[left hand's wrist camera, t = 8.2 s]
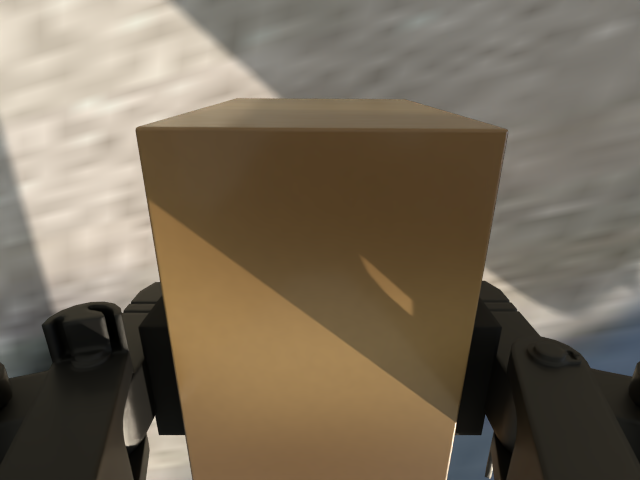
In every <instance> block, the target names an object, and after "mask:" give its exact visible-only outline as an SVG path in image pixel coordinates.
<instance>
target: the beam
mask: <svg viewBox="0 0 640 480" xmlns="http://www.w3.org/2000/svg"><path fill="white" fill-rule="evenodd" d="M136 136H137V142H138V148H139V154H140V160H141V167H142V173H143V179H144V185H145V191H146V197H147V203H148V210H149V216H150V222H151V228H152V234H153V240H154V246H155V252H156V259H157V265H158V271H159V277H160V283H161V289H162V295H163V302H164V308H165V314H166V320H167V326H168V332H169V338H170V345H171V351H172V357H173V363H174V369H175V375H176V381H177V387H178V394H179V400H180V406H181V412H182V418H183V424H184V430H185V437H186V443H187V449H188V455H189V461H190V467H191V473H192V479H193V480H447V474H448V469H449V463H450V458H451V452H452V446H453V441H454V435H455V429H456V424H457V418H458V412H459V407H460V401H461V396H462V390H463V384H464V379H465V373H466V367H467V362H468V356H469V350H470V345H471V339H472V334H473V328H474V322H475V317H476V311H477V305H478V300H479V294H480V289H481V283H482V277H483V272H484V266H485V260H486V255H487V249H488V243H489V238H490V232H491V227H492V221H493V215H494V210H495V204H496V198H497V193H498V187H499V181H500V176H501V170H502V165H503V159H504V153H505V148H506V142H507V136H508V130H507V129H504V128H501V127H498V126H494V125H491V124H487V123H484V122H481V121H477V120H474V119H470V118H467V117H464V116H460V115H457V114H453V113H450V112H447V111H443V110H440V109H436V108H433V107H429V106H426V105H423V104H419V103H416V102H412V101H409V100H406V99H270V98H236V99H233V100H229V101H226V102H222V103H219V104H216V105H212V106H209V107H205V108H202V109H198V110H195V111H191V112H188V113H184V114H181V115H177V116H174V117H170V118H167V119H163V120H160V121H157V122H153V123H150V124H146V125H143V126H139V127H137V128H136Z"/></svg>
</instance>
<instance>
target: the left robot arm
mask: <svg viewBox="0 0 640 480" xmlns="http://www.w3.org/2000/svg"><path fill="white" fill-rule="evenodd" d="M42 328H43V331H44V334H45V338H46V341H47V345H48V348H49V351H50V355H51V358H52V362H53V363H52V365H51V367H50V369H49V370H48V371H44V372H39V373H34V374H29V375H24V376H19V377H14V378H8V375H7V373H6V370H5V367H4V365H3V364H2V363H0V480H146V474H147V466H148V458H149V451H150V450H149V443H148V438H147V431H148V429H149V427H150V425H151V423H152V421H153V419H154V416H155V417H156V422H157V427H158V432H159V435H185V430H184V424H183V418H182V412H181V406H180V400H179V394H178V387H177V381H176V375H175V369H174V363H173V357H172V351H171V345H170V338H169V332H168V326H167V320H166V314H165V308H164V302H163V295H162V289H161V283H160V282H155V283H153V284H152V285H150V286H148V287H147V288H145V289H143V290H142V291H140V292H139V293H138V294H137V296H136V297H135V298H134V299H133V300H132V301H131V304H129V305H128V306H127V307H126V308H125V310H124V313H122V312H121V308H120V307H118V306H117V305H116V304H113V303H108V302H89V303H85V304H80V305H75V306H73V307H70V308H67V309H64V310H62V311H60V312H58V313H56V314H55V315H53V316H51V317H49V318H48V319H47V320H46V321H45V322H44V323H43V324H42ZM485 414H486V416H487V418H488V420H489V422H490V424H491V426H492V428H493V430H494V433H493V438H492V443H491V447H490V452H489V457H488V462H487V467H486V473H485V477H488V478H491V474H492V470H493V473H494V480H640V362H638V363H637V365H636V368H635V371H634V374H633V377H631V376H626V375H621V374H616V373H611V372H606V371H600V370H596V369H592V368H590V366H589V364H588V362H587V361H586V360H585V359H584V358H583V356H582V355H581V354H580V353H579V352H577V351H576V350H574V349H573V348H571V347H570V346H568V345H566V344H563V343H561V342H559V341H556V340H553V339H549V338H545V337H541V336H540V335H539V334H538V333H537V332H536V331H535V330H534V328H533V327H532V326H531V325H530V324H529V323H528V321H527V320H526V319H525V318H524V317H523V316H522V314H521V313H520V312H517V309H516V307H515V306H514V305H513V304H512V303H510V302H509V299H508V298H507V297H506V296H505V295H504V294H503V292H502V291H501V290H500V289H498V288H496V287H495V286H493V285H491V284H489V283H488V282H486V281H482V283H481V289H480V294H479V300H478V305H477V311H476V317H475V322H474V328H473V334H472V339H471V345H470V350H469V356H468V362H467V367H466V373H465V379H464V384H463V390H462V396H461V401H460V407H459V412H458V418H457V424H456V429H455V435H481V434H482V429H483V424H484V418H485Z"/></svg>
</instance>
